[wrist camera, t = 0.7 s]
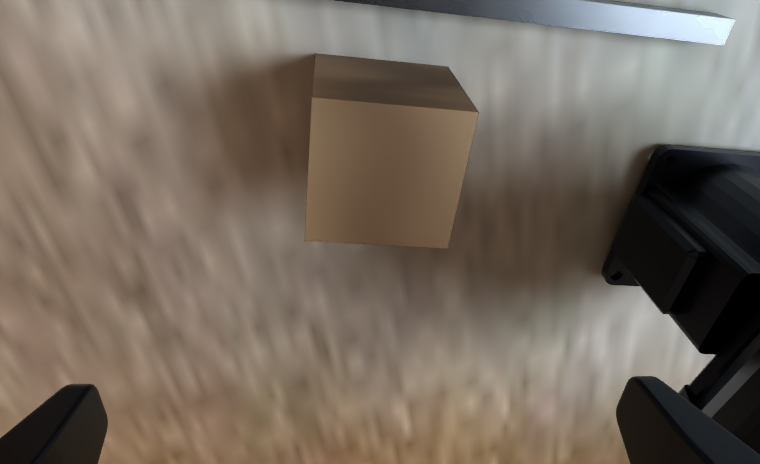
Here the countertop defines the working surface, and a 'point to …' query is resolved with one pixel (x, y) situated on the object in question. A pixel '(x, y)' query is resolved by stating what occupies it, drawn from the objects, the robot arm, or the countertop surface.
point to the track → (586, 16)
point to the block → (386, 152)
